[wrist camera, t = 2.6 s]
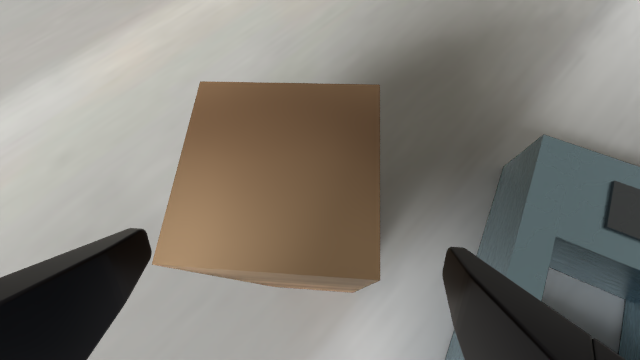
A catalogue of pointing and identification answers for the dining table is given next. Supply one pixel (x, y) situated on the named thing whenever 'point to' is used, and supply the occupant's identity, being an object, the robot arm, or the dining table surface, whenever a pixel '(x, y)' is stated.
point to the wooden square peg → (278, 186)
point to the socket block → (568, 227)
